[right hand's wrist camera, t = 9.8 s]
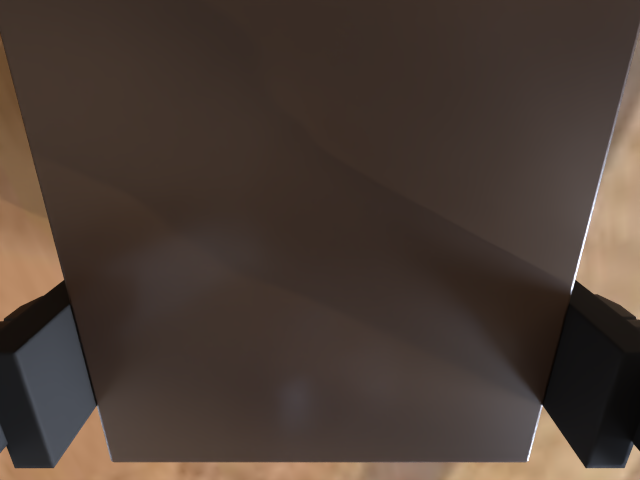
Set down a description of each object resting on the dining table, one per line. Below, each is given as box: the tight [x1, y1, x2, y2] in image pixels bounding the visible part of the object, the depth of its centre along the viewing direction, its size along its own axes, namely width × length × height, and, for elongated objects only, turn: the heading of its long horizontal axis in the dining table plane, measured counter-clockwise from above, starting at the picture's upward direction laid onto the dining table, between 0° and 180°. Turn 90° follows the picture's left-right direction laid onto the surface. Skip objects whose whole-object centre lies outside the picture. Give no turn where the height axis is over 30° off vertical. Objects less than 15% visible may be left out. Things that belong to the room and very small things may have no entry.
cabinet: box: [0, 0, 640, 462], centre depth 10 cm, size 20×10×9 cm, turn 0°
